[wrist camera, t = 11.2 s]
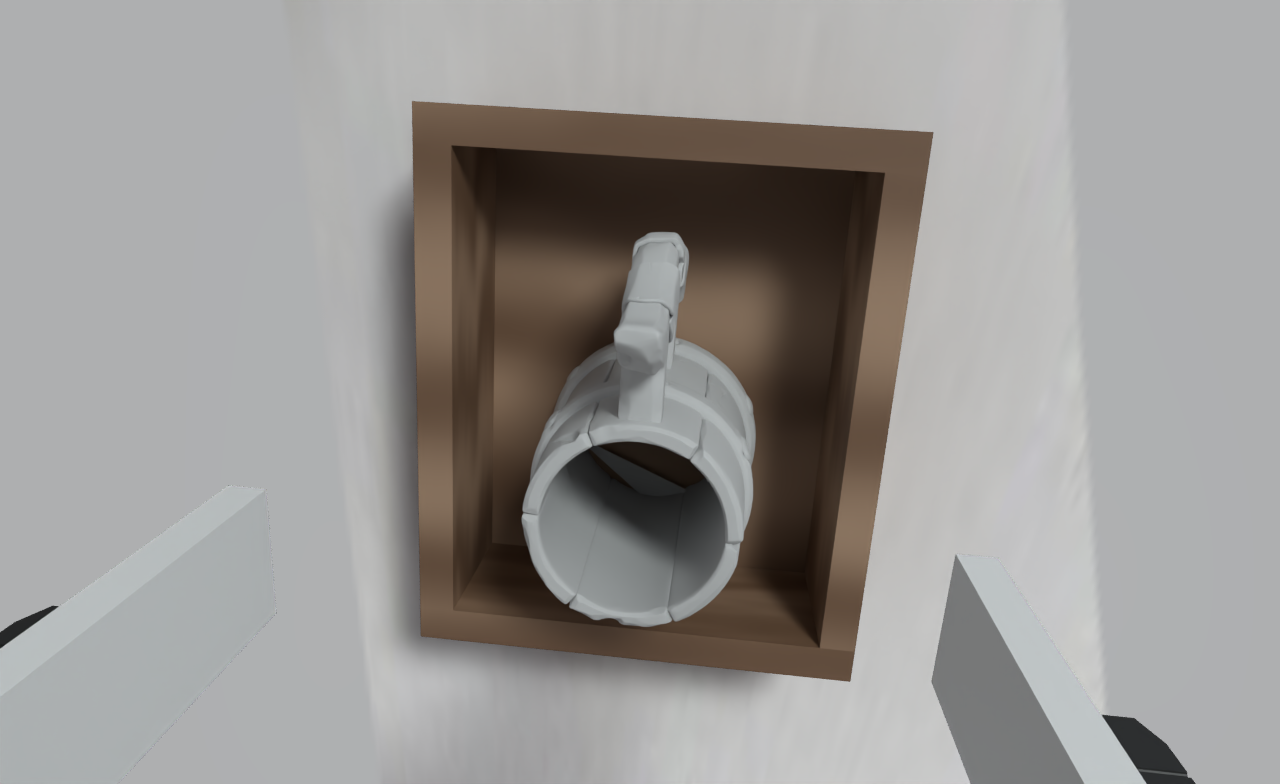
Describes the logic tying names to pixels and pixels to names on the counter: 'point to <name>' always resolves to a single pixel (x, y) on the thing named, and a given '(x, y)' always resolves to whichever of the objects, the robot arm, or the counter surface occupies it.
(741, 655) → the wooden box
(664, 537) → the mug
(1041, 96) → the counter surface
